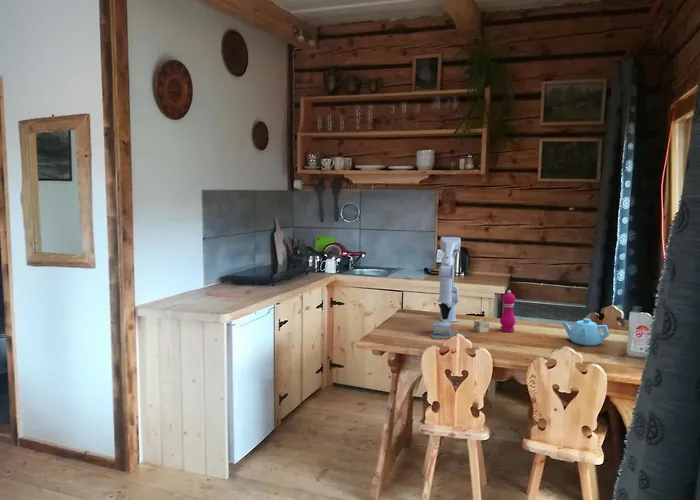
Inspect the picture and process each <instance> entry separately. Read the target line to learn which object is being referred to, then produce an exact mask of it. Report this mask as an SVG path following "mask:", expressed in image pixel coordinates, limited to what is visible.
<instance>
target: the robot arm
mask: <svg viewBox="0 0 700 500" xmlns="http://www.w3.org/2000/svg"><path fill="white" fill-rule="evenodd" d="M461 239H462V238H461V237H459V236H458V237H457V236H441V237H440V241H439V245H440V250H441V252H442V253H444V255H443V256H442V257H441V262H440V263H441V264H440V266H439V268H438V269H439V270H438V277H439V296H438V299H436V302H438V307H439V316H438V317H437V318H438V319H439V320H441V322H449V323H453V322H459V320H458V319H457V316H456V315H457V313H456V312H457V304H458V303H459V300H460V289H459V287H458V286H456V284H455V283H454V282H455V261H456V260H455V259H456V255H457V254H458V253H460V251H461Z"/></svg>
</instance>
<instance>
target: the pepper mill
mask: <svg viewBox="0 0 700 500" xmlns="http://www.w3.org/2000/svg"><path fill="white" fill-rule="evenodd" d="M506 291H507V293H504V294H503V295H502V302H503V305H502V306H503V313H502V315H501V317H500V319H499V323H500V325H501V326H500V331H502V332H503V331H504V333H514V331H515V327H514V326H516V318H515V315H514V312H513V309H514V307H515V301H516V296H515V295H514V294H513V293H512V291H511V289H508V290H506Z"/></svg>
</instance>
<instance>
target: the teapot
mask: <svg viewBox="0 0 700 500" xmlns="http://www.w3.org/2000/svg"><path fill="white" fill-rule="evenodd" d="M561 323H562V325H563V327H564V329H565V332H566V334H567V336H568V338H569V340H570V341H571V342H572V343H574V344H576V345H580V346H587V347H588V346H590V347H593V346H598V345H599V344H601V343H602V342H603V340H605V339H607V338H608V337H609V336H610V332H609V329H608V325H607V324H602V325H601V324H599V325H598V324H597V323H596V322H593V321H592V319H590V318H586V317H585V318H583V319H582V320H577V321H575V322H574V324H573V325H572V326H571V327H570V325H569V324H568V323H567V321H565V320H562V321H561ZM601 329H603V334H602V330H601Z"/></svg>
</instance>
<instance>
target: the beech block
mask: <svg viewBox="0 0 700 500" xmlns="http://www.w3.org/2000/svg"><path fill="white" fill-rule="evenodd" d="M489 327H490V321H487V320H485V319H474V320H473V331H474V332H477V333H481V334H482V332H483V333H489V331H490V330H489V329H490V328H489Z"/></svg>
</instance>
